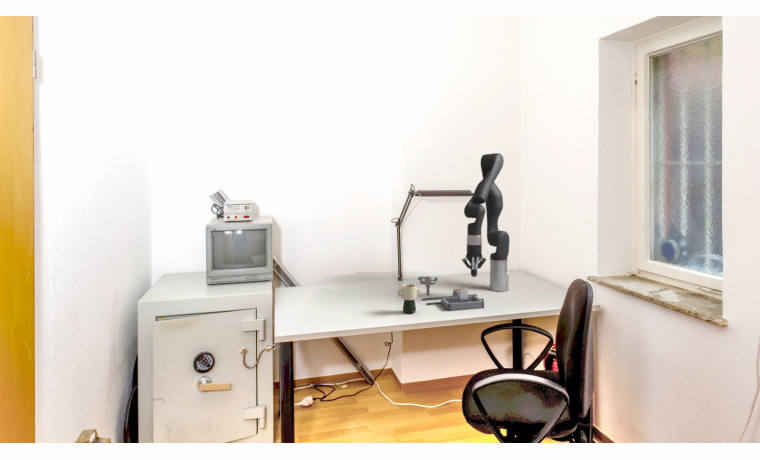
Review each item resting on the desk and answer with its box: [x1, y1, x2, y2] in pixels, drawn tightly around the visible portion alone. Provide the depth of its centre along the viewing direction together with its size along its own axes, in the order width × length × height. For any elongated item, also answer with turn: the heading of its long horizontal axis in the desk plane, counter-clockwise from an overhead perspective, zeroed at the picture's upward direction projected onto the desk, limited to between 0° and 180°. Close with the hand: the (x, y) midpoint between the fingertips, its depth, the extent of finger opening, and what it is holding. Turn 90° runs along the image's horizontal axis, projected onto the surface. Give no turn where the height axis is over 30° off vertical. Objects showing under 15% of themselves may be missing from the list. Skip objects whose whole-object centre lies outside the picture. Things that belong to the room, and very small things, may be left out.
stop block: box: [457, 288, 469, 303], centre depth 205 cm, size 4×4×7 cm
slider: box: [452, 288, 465, 297], centre depth 217 cm, size 6×5×5 cm
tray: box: [440, 295, 485, 312], centre depth 206 cm, size 18×11×4 cm, turn 100°
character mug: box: [397, 283, 422, 314], centre depth 199 cm, size 11×7×13 cm, turn 92°
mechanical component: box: [417, 275, 438, 296], centre depth 228 cm, size 3×10×10 cm, turn 78°
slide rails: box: [421, 293, 485, 306], centre depth 217 cm, size 30×10×1 cm, turn 100°
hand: (473, 276), depth 217 cm, fingers closed
